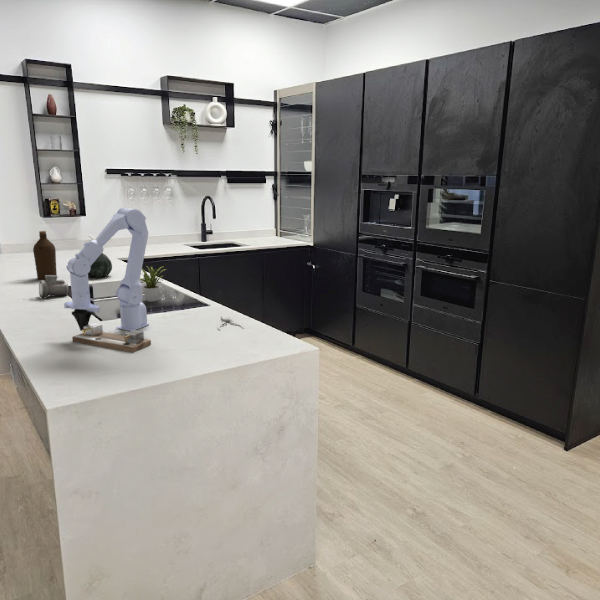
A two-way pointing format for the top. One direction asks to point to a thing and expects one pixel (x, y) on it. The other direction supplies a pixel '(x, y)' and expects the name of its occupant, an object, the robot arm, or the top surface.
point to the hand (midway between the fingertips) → (83, 330)
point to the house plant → (151, 284)
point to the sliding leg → (92, 329)
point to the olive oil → (44, 257)
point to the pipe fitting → (52, 286)
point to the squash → (101, 266)
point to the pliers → (229, 322)
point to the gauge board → (116, 340)
